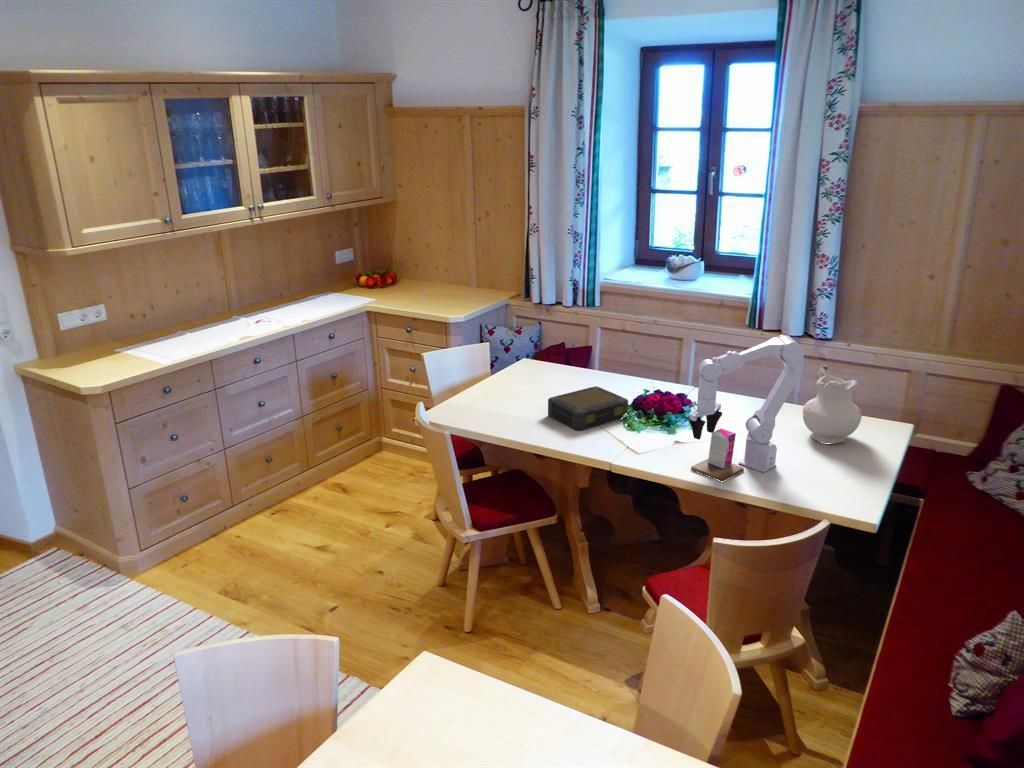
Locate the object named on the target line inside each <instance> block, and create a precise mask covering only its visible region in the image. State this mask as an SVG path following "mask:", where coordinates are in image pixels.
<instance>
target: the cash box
mask: <svg viewBox="0 0 1024 768" xmlns="http://www.w3.org/2000/svg"><path fill="white" fill-rule="evenodd" d="M627 411H629V400H628V398H626V397H623V396H620V395H618V394H616V393H614V392H612V391H609V390H606V389H604V388H603V387H599V386H591V387H587V388H583V389H582V388H581V389H579V390H575V391H572V392H567V393H564V394H559V395H556V396H551V397H549V398H548V399H547V416H548V417H549V418H551V419H553V420H554V421H557V422H559V423H561V424H563V425H564V426H566V427H569V428H570V429H572V430H574V431H575V432H576V431H577V432H581V431H582V432H583V431H586V430H589V429H592V428H593V429H594V428H596V427H600V426H603V425H606V423H607V424H610V423H613V422H612V421H614V422H617V421H620V419H621V418H622V417H623V415H624V414H625V413H626V412H627ZM616 420H617V421H616ZM621 420H622V419H621ZM609 422H610V423H609Z"/></svg>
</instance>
